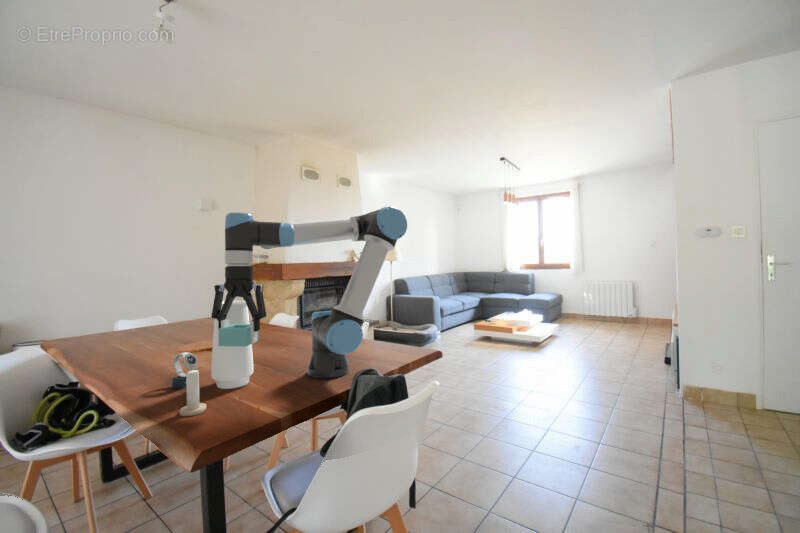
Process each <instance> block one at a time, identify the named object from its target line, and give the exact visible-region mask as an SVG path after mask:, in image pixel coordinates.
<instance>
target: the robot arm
mask: <svg viewBox="0 0 800 533" xmlns="http://www.w3.org/2000/svg"><path fill="white" fill-rule="evenodd" d="M224 220H225V221H224V222H225V223H224V224H225V225H224V247H225V248H224V251H225V252H224V264H225V265H227V266H225V267H224V279H225V282H224V284H216V285H214V286H213V287H214V293H215V294H214V299H213V303H214V304H213V303H212V310H211V318H212V319H217V320H218V330H219V328H222V327H225V326H228V320H225V319H226V316H227V314H228V312H229V309H230V307H231V305H232V302H233V301H234V300H235V298H242V299H243V300H245V302H246V304H247V306H248V312H249V313H250V316H251V318H252V319H251V320H249V322H250V327H251V343H252V344H254V343H257V342H258V341H257V331H258V332H259V331H260V329H261V320H262V319H263V318H267V311H266V304H265V300H264V293H263V291H264V285H263V284H255V282H254V279H253V278H254V268H253V266H252V265H253V264H254V253H253V252H254V247H261V248H262V249H264V250H271V249H274V248H288V247H289V248H290V247H294V246H301V245H309V244H319V243H328V242H329V243H330V242H338V241H347V240H351V241H352V242H353V243H354V242H364V243H365V244H364V246H363V247H362V251H361V253H360V255H359V258H358V260H357V263H356V265H355V267H354V270H353V272H352V275H351V277H350V279H349V281H348V283H347V286H346V288H345V290H344V293H343V295H342V297H341V300H340V302H339V304H337V305H335V306H333V307H332V310H325V311H324V310H323V311H314V312H312V314H311V320H310V322H311V349H312V351H311V356H310V359H309V362H308V365H307V375H308V376H309V377H310V378H315V379H332V378H333V379H335V378H338V377H342V376H344V375H347V374H348V373H349V372H350V365H349V361H348V358H347V356H346V355H348V354H351V353H353V352H355V351H356V350H357V349H358V348H359V347H360V345H361V344H362V341H363V337H364V333H363V332H364V331H363V330H362V327H363V325H364V323H365V318H364V315H363V314H364V311H365V309H366V306H367V304H368V301H369V298H370V296H371V294H372V291H373V290H374V286H375V284H376V282H377V278H378V277H379V274H380V272H381V270H382V267H383V265H384V262H385V261H386V260H385V259H386V257H387V255H388V253H389V252H390V251H393V250H394V249H395V246H396V244H397V241H398V240H399V239H401V238H402V237H403V236H405V234H406V233H407V231H408V221H407V218H406V215H405V214H404V212H403V211H402V210H401V209H399V208H397V207H396V206H384V207H381V208H380V209H377V210H373V211H370V212H367V213H365V214H362V215H361V214H360V215H357V216H350V217H349V219H339V220H330V221H329V220H328V221H318V222H305V223H304V222H303V223H294V224H293V223H287V222H283V221H281V222H276V221H275V222H273V221H257V220H254V215H253V214H252V213H248V212H246V213H245V212H229V213H227V214H226V216H225V219H224ZM225 290H226V291H227V293H226V295H225V300H223V299H224V294H225V293H224V291H225ZM252 290H253V291H254V292H255V293H254V294H255V300H254V298H253V295H252V292H251V291H252ZM222 301H225V302H224V304H223V306H222ZM255 301H256V304H255ZM221 306H222V309H221Z"/></svg>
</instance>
